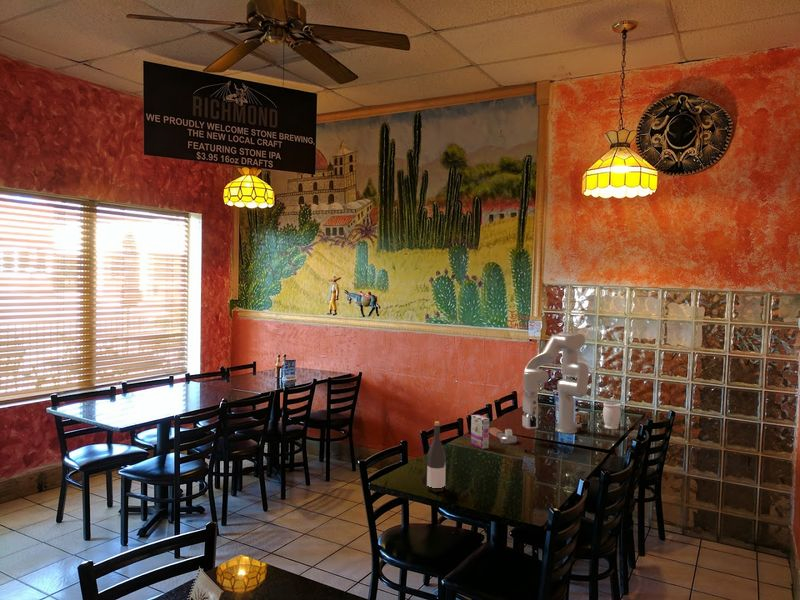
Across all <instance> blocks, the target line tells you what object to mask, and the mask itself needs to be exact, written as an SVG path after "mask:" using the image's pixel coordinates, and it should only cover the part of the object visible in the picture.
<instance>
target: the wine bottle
mask: <svg viewBox="0 0 800 600" xmlns="http://www.w3.org/2000/svg"><path fill="white" fill-rule="evenodd" d="M440 427H441V425H440V421H434V425H433V441H432V442H431V444H430V446H429V448H428V451H427V456H426V458H427V459H426V466H427V467H426V487H427V486H429V487H432V488H442V487H444V486H445V487H446V469H447V468H446V466H447V465H446V464H447V463H446V460H447V459H446V458H447V455H446V451H445V447H444V445H443V443H442V441H441V438H440V436H441V435H440V434H441V433H440V431H441V428H440Z"/></svg>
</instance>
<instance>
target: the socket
mask: <svg viewBox="0 0 800 600" xmlns="http://www.w3.org/2000/svg"><path fill="white" fill-rule="evenodd" d="M532 414H534V413H532ZM533 416H534V415H533ZM521 417H522V427H523V428H525V429H527V430H531V429H538V428H539V417H537V420H536V427H531V416H530V414H528V413H527V414H526V415H524V414H522V416H521Z"/></svg>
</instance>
